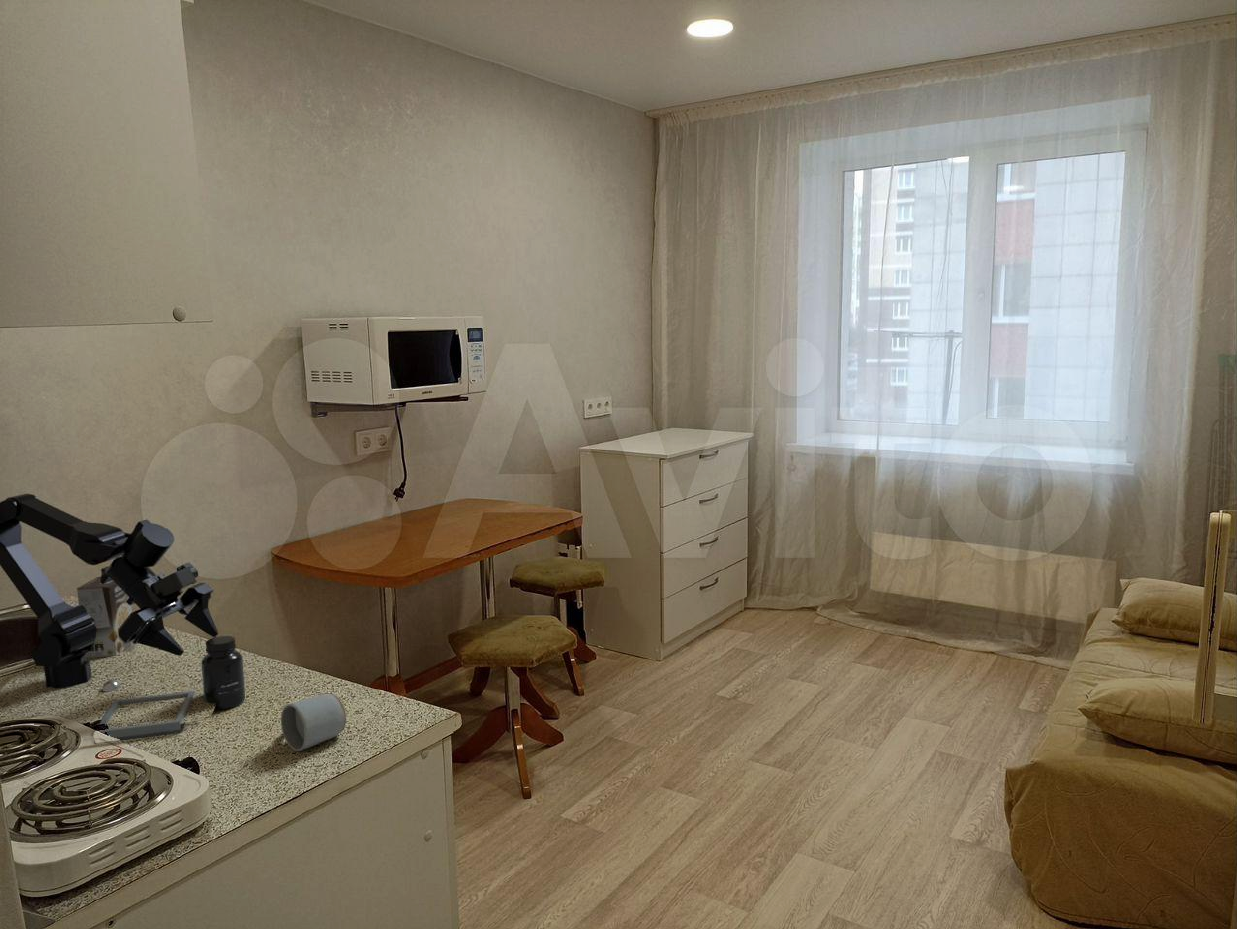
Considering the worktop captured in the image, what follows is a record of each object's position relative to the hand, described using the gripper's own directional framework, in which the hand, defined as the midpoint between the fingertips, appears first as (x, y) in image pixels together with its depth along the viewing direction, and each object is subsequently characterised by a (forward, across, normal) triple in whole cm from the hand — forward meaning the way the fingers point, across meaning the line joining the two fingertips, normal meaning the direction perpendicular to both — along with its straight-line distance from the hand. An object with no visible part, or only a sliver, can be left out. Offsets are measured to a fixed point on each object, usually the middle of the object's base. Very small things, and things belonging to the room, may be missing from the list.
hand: (199, 644), depth 159 cm
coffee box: (-17, +16, +32) cm, 40 cm away
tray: (+4, -9, +11) cm, 15 cm away
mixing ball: (-7, -1, +20) cm, 21 cm away
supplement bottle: (+11, 0, +5) cm, 12 cm away
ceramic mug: (+27, -10, -11) cm, 31 cm away
